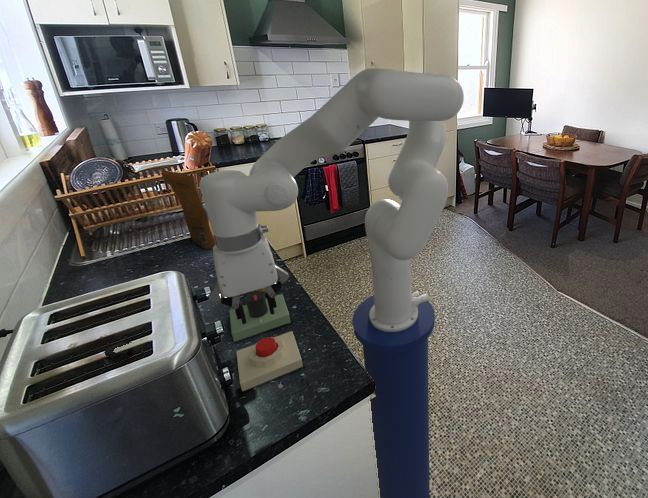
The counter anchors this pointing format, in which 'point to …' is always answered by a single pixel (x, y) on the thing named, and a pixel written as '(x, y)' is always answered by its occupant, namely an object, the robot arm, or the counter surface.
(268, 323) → the dial panel
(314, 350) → the counter surface
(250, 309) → the dial
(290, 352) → the button housing
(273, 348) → the button
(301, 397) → the counter surface
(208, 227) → the pancake mix bag
